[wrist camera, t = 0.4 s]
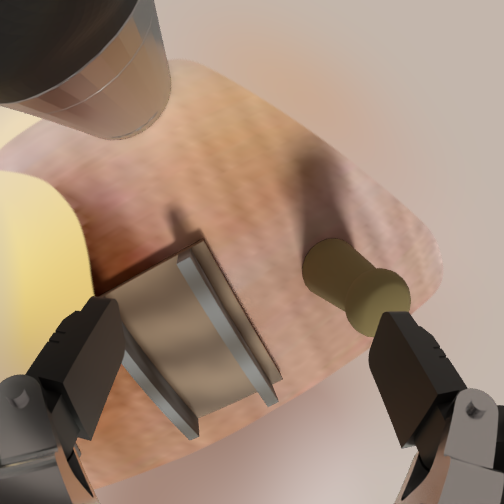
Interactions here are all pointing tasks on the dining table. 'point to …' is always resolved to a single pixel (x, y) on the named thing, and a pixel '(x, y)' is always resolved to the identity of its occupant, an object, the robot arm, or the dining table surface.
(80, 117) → the robot arm
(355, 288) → the olive waisted cylinder
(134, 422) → the dining table surface
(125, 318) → the walnut track
